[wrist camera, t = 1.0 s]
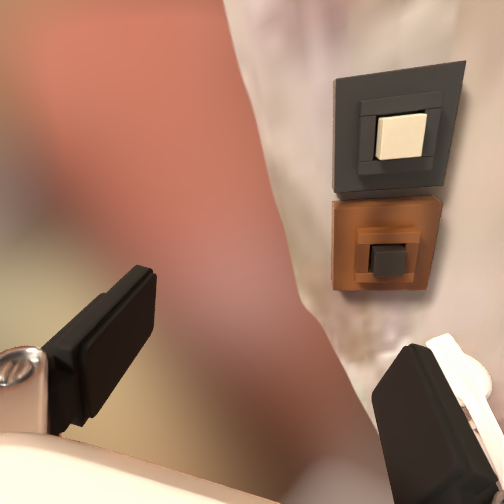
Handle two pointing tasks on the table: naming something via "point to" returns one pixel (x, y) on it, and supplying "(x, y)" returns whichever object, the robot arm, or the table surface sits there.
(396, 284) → the block walnut
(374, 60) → the table surface
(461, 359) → the headset
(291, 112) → the table surface
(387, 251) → the key ebony
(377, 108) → the block black
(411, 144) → the key ivory
